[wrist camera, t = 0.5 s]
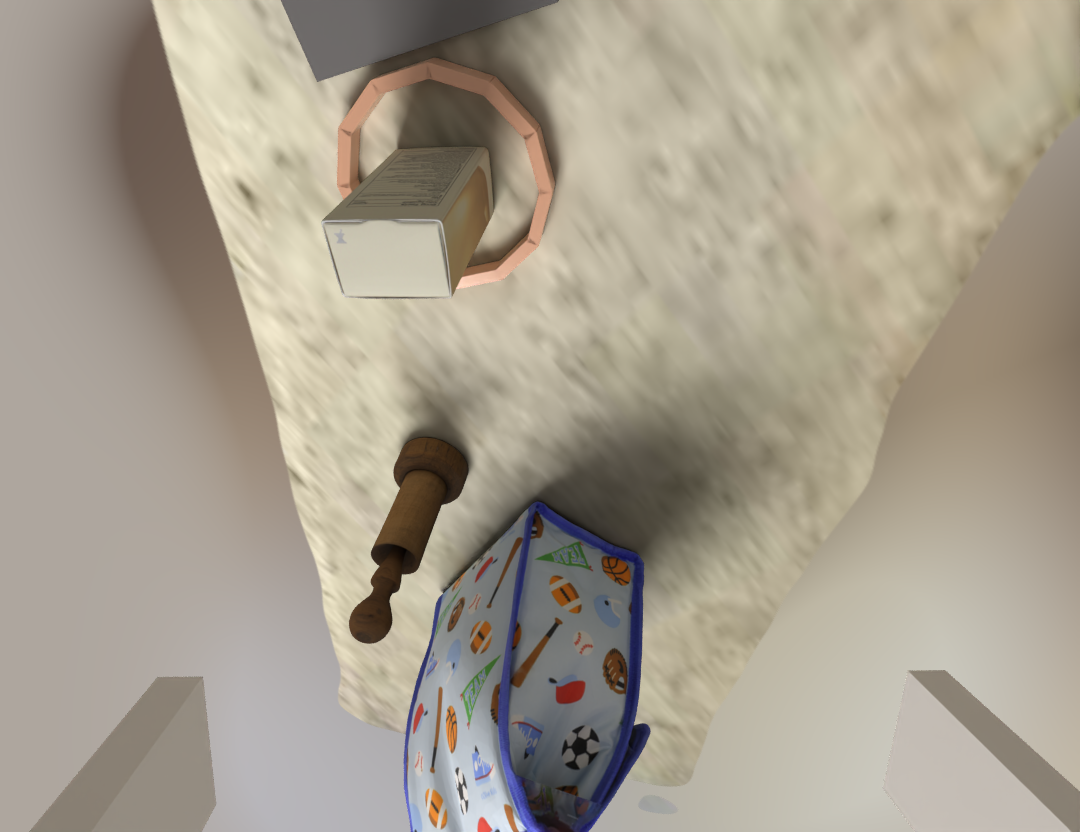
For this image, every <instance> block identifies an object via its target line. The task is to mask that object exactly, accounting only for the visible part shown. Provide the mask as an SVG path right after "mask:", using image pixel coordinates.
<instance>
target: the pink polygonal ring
mask: <svg viewBox="0 0 1080 832" xmlns="http://www.w3.org/2000/svg"><path fill="white" fill-rule="evenodd" d="M427 79H432V80H435V81H438V82H442V83H445V84H448V85H451V86H454V87H458V88H461V89H464V90H467V91H471V92H474V93H477V94H480V95H483V96H485V97H486V98H487V100H488V101H489V102H490V103H491V104H492V105H493V106H494V107H495V108H496V109H497V110H498V111H499V112H500V113H501V114H502V115H503V117H504V118H505V119H506V120H507V121H508V122H509V123H510V124H511V125H512V126H513V127H514V128H515V129H516V130H517V131H518V133H519V134H520V135H521V136H522V137H523V138H524V139H525V143H526V146H527V150H528V153H529V157H530V161H531V164H532V168H533V171H534V175H535V179H536V182H537V186H538V189H539V196H538V200H537V204H536V208H535V212H534V216H533V220H532V224H531V228H530V232H529V233H528V234H527V235H526V236H525V237H524V238H523V239H522V240H521V241H520V242H519V243H518V244H517V245H516V246H515V247H514V248H513V249H512V250H511V251H509V252H508V253H507V254H506V255H505V256H504V257H503V258H502V259H501V260H500V261H495V262H491V263H486V264H481V265H477V266H472V267H467V268H466V269H465V271H464V274H463V276H462V278H461V280H460V282H459V284H458V286H457V288H456V289H460V288H465V287H470V286H475V285H480V284H485V283H490V282H495V281H500V280H503V279H504V278H505V277H506V276H507V275H508V274H509V273H510V272H511V271H512V270H514V269H515V268H516V267H517V266H518V265H519V264H520V263H521V262H522V261H523V260H524V259H525V258H526V257H527V256H529V255H530V254H531V253H532V252H533V251H534V250H535V249H536V248H537V247H538V246H539V243H540V241H541V238H542V234H543V231H544V227H545V223H546V219H547V215H548V211H549V208H550V204H551V200H552V196H553V192H554V189H555V180H554V177H553V173H552V169H551V165H550V161H549V157H548V154H547V150H546V146H545V142H544V138H543V135H542V131H541V127H540V124H539V123H538V122H537V121H536V120H535V119H534V118H533V117H532V116H531V114H530V113H529V112H528V111H527V110H526V109H525V108H524V107H523V106H522V105H521V104H520V103H519V101H518V100H517V99H516V98H515V97H514V96H513V95H512V94H511V93H510V92H509V91H508V89H507V88H506V87H505V86H504V85H503V84H502V83H501V82H500V81H499V80H498V79H497V77H495V76H493V75H490V74H487V73H483V72H480V71H477V70H474V69H471V68H467V67H464V66H461V65H458V64H455V63H451V62H448V61H445V60H442V59H439V58H431V59H428V60H425V61H422V62H419V63H416V64H413V65H409V66H406V67H403V68H400V69H397V70H394V71H391V72H388V73H385V74H382V75H379V76H377V77H376V78H374V79H372V80H371V81H370V82H369V83H368V85H367V86H366V88H365V89H364V91H363V92H362V94H361V95H360V97H359V98H358V100H357V101H356V103H355V104H354V105H353V107H352V108H351V110H350V111H349V113H348V114H347V116H346V117H345V119H344V120H343V122H342V123H341V125H340V126H339V128H338V170H337V185H338V188H339V191H340V193H341V195H342V197H343V199H345V198H346V197H347V196H348V195H349V194H350V193H351V192H352V191H353V190H354V189H356V188H357V187H358V186H359V185H360V182H359V180H358V167H359V145H360V128H361V127H362V125H363V124H364V122H365V121H366V120H367V118H368V117H369V115H370V114H371V113H372V111H373V110H374V108H375V107H376V105H377V104H378V103H379V101H380V100H381V98H382V97H383V96H384V94H385V93H386V92H389V91H392V90H395V89H398V88H401V87H404V86H408V85H411V84H414V83H417V82H420V81H423V80H427Z"/></svg>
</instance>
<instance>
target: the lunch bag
mask: <svg viewBox="0 0 1080 832" xmlns="http://www.w3.org/2000/svg"><path fill="white" fill-rule="evenodd" d="M643 586H644V563H643V561H642V559H641V558H640V556H639V555H638V554H637V553H634V552H632V551H629V550H626V549H623V548H619V547H617V546H614V545H612V544H609V543H607V542H606V541H604V540H602V539H600V538H599V537H597V536H595V535H593V534H591V533H589V532H588V531H586V530H584V529H582V528H580V527H578V526H576V525H574V524H572V523H571V522H569V521H567V520H566V519H564V518H563V517H561V516H559V515H558V514H556V513H555V512H554V511H552V510H551V509H549V508H548V507H547V506H546V505H545V504H544V503H541V502H535V503H533V504H532V505H531V506H530V507H529V508H528V509H527V510H525V512H524V513H523V514H522V515H521V516H520V517H519V518H518V520H517V521H516V522H515V523H514V524H513V525H512V526H511V527H510V528H509V529H508V530H507V531H506V532H505V533H504V534H503V536H502V537H501V538H500V539H499V540H498V541H497V542H496V543H495V544H494V545H492V546H491V547H490V548H489V549H488V550H487V551H486V552H485V553H484V554H483V555H482V556H481V557H480V558H479V559H478V560H477V561H476V562H475V563H474V564H473V565H472V566H471V567H470V568H469V569H468V570H467V571H466V572H465V573H464V574H463V575H462V576H461V577H460V578H458V579H457V580H456V582H455V583H454V584H453V585H452V586H451V587H450V588H448V589H447V590H446V591H445V592H444V593H443V594H442V595H441V596H440V597H439V599H438V601H437V603H436V607H435V615H434V621H433V628H432V635H431V639H430V642H429V646H428V649H427V652H426V655H425V658H424V660H423V663H422V665H421V668H420V672H419V675H418V678H417V681H416V685H415V690H414V694H413V698H412V702H411V706H410V711H409V715H408V721H407V728H406V739H405V751H404V789H405V796H406V803H407V808H408V813H409V819H410V827H411V832H588V831H589V830H590V829H591V828H592V826H593V825H594V824H595V822H596V821H597V819H598V818H599V817H600V815H601V814H602V813H603V811H604V810H605V809H606V807H607V806H608V804H609V803H610V801H611V800H612V798H613V797H614V795H615V794H616V792H617V790H618V789H619V787H620V785H621V784H622V782H623V781H624V779H625V777H626V776H627V774H628V773H629V771H630V769H631V768H632V766H633V765H634V763H635V762H636V760H637V759H638V757H639V756H640V754H641V752H642V750H643V748H644V747H645V745H646V742H647V740H648V737H649V735H650V728H649V726H648V725H647V724H643V723H642V724H637V725H634V721H635V717H636V712H637V706H638V699H639V690H640V679H641V659H642V628H643Z"/></svg>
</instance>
